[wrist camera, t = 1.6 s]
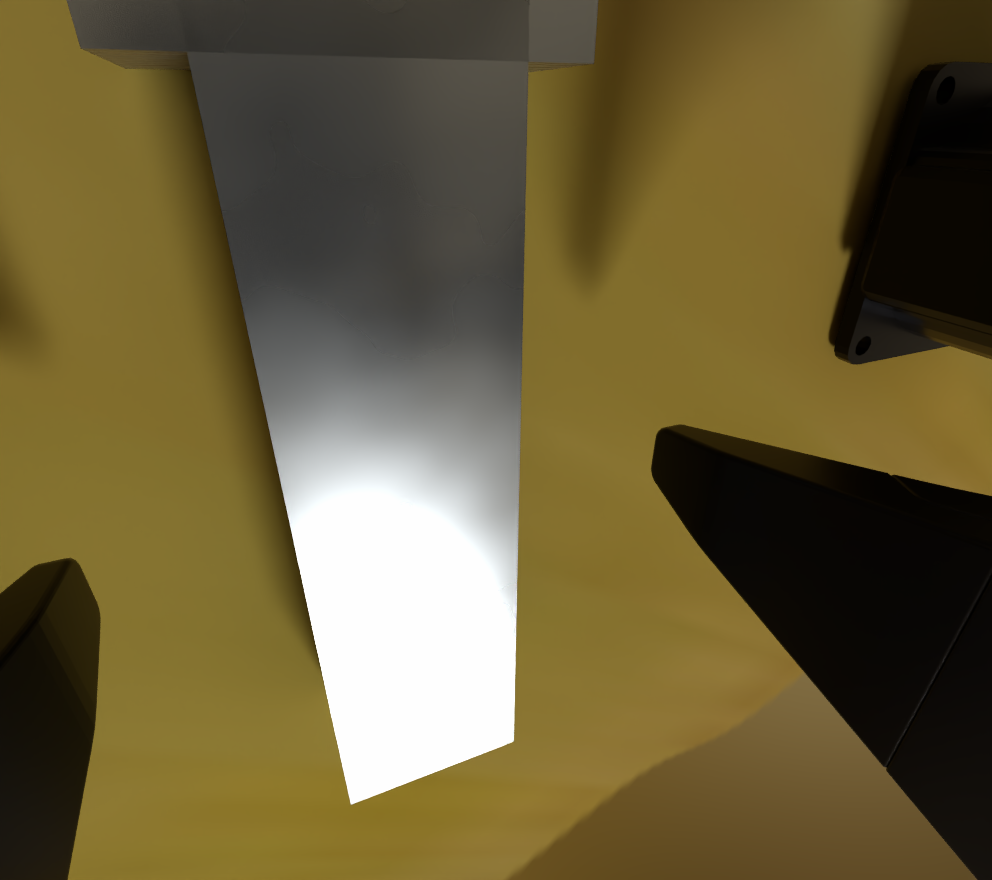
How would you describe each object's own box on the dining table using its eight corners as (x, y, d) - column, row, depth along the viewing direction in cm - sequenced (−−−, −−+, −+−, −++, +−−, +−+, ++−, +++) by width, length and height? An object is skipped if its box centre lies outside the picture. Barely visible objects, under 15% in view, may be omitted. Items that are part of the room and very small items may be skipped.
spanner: (497, -210, 8) (622, -356, 5) (497, 630, 15) (548, 727, 13) (29, -300, 6) (-102, -576, 4) (291, 695, 14) (306, 821, 11)
